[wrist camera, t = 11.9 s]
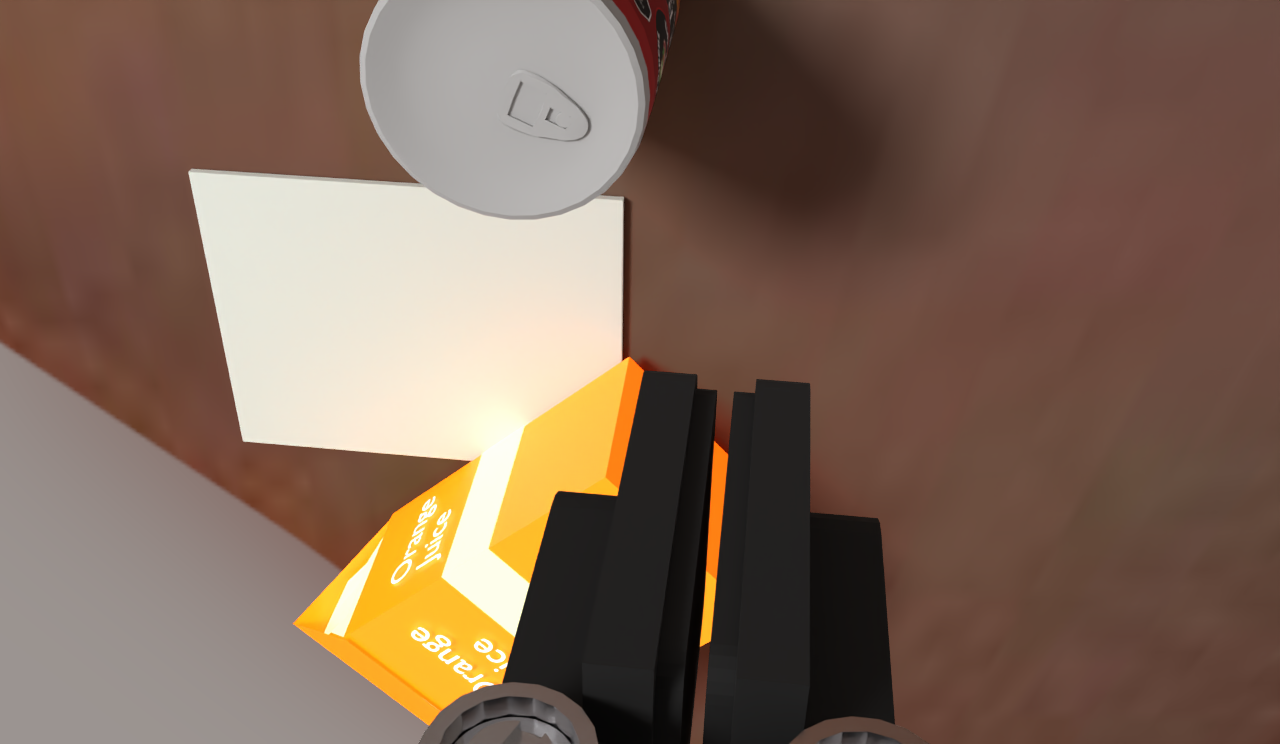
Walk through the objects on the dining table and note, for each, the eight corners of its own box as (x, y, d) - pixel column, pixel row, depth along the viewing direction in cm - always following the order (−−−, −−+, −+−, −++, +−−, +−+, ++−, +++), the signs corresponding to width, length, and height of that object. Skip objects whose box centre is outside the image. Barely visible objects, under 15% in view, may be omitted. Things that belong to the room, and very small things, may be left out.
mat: (624, 196, 46) (622, 200, 46) (621, 469, 53) (620, 473, 53) (191, 168, 48) (188, 172, 48) (245, 437, 55) (243, 441, 55)
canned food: (666, 104, 44) (628, 244, 35) (449, 66, 44) (354, 196, 35) (701, -117, 40) (667, -24, 31) (460, -158, 40) (356, -77, 31)
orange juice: (763, 487, 53) (449, 664, 62) (628, 352, 49) (316, 561, 58) (758, 623, 46) (409, 797, 55) (603, 479, 43) (257, 690, 52)
